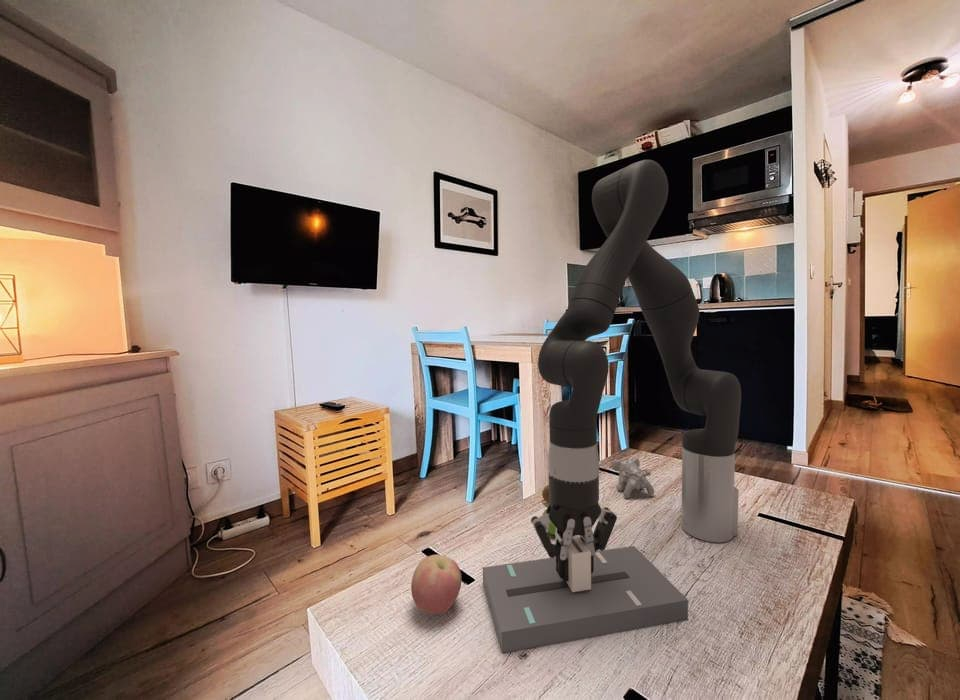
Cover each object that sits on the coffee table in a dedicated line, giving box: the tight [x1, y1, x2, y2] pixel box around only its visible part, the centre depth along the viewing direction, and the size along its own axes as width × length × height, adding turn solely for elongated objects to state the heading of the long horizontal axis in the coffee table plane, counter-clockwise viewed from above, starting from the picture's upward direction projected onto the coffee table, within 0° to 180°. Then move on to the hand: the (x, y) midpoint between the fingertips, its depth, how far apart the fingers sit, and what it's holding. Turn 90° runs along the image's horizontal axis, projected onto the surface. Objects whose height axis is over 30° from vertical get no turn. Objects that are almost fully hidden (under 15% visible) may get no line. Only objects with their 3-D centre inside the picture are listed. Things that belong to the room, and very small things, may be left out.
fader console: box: [482, 545, 689, 654], centre depth 61 cm, size 28×14×3 cm, turn 100°
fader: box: [566, 535, 591, 592], centre depth 61 cm, size 3×5×6 cm, turn 10°
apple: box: [410, 554, 462, 615], centre depth 60 cm, size 8×8×8 cm
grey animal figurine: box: [611, 457, 655, 499], centre depth 100 cm, size 9×12×8 cm
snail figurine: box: [541, 484, 556, 536], centre depth 80 cm, size 5×6×12 cm
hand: (574, 576), depth 61 cm, fingers closed on fader, 3 cm apart
